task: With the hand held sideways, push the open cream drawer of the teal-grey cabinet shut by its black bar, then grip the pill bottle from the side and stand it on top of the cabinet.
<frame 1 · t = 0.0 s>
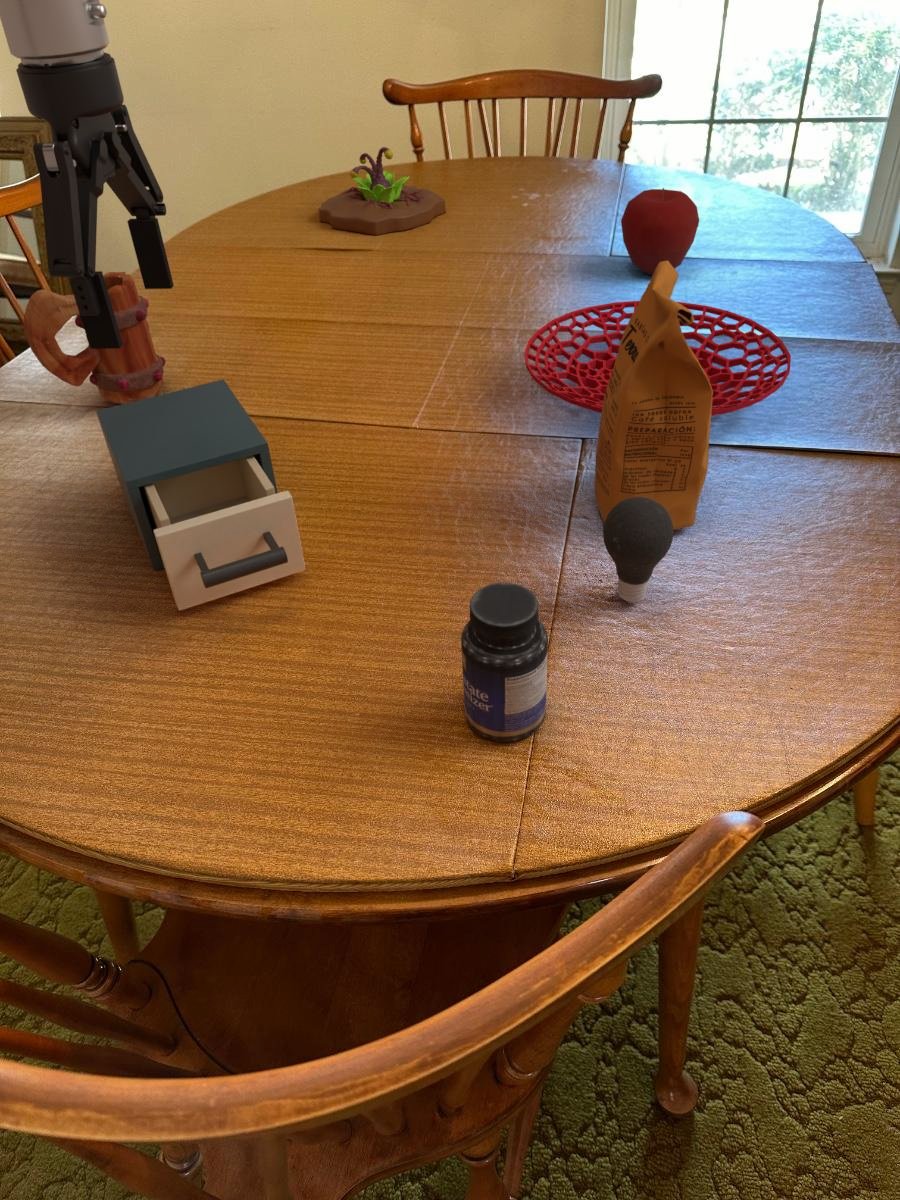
hand: (134, 315, 87), 18 cm above the table, tool pointing down, fingers open, 13 cm apart
apple: (655, 272, 137), on the table
pill bottle: (505, 716, 70), on the table
drawer: (220, 526, 83), point 5 cm above the table, slide at 7.0 cm
cabinet: (201, 512, 94), on the table
light bulb: (631, 601, 80), on the table
plant: (383, 216, 164), on the table
mug: (116, 404, 113), on the table
bowl: (650, 393, 109), on the table
coffee package: (644, 504, 91), on the table
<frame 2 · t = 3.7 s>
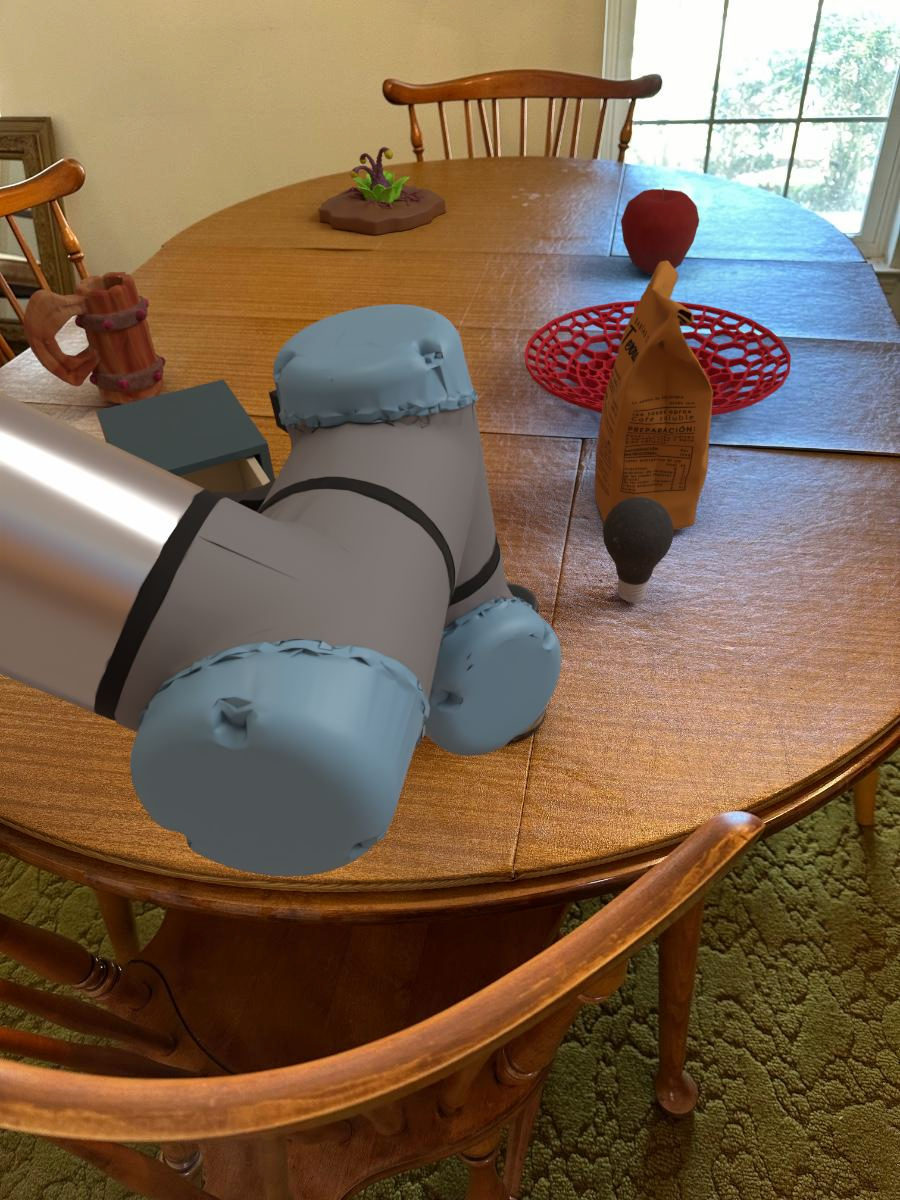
hand: (192, 438, 66), 19 cm above the table, tool horizontal, fingers open, 13 cm apart
nothing on the table moved.
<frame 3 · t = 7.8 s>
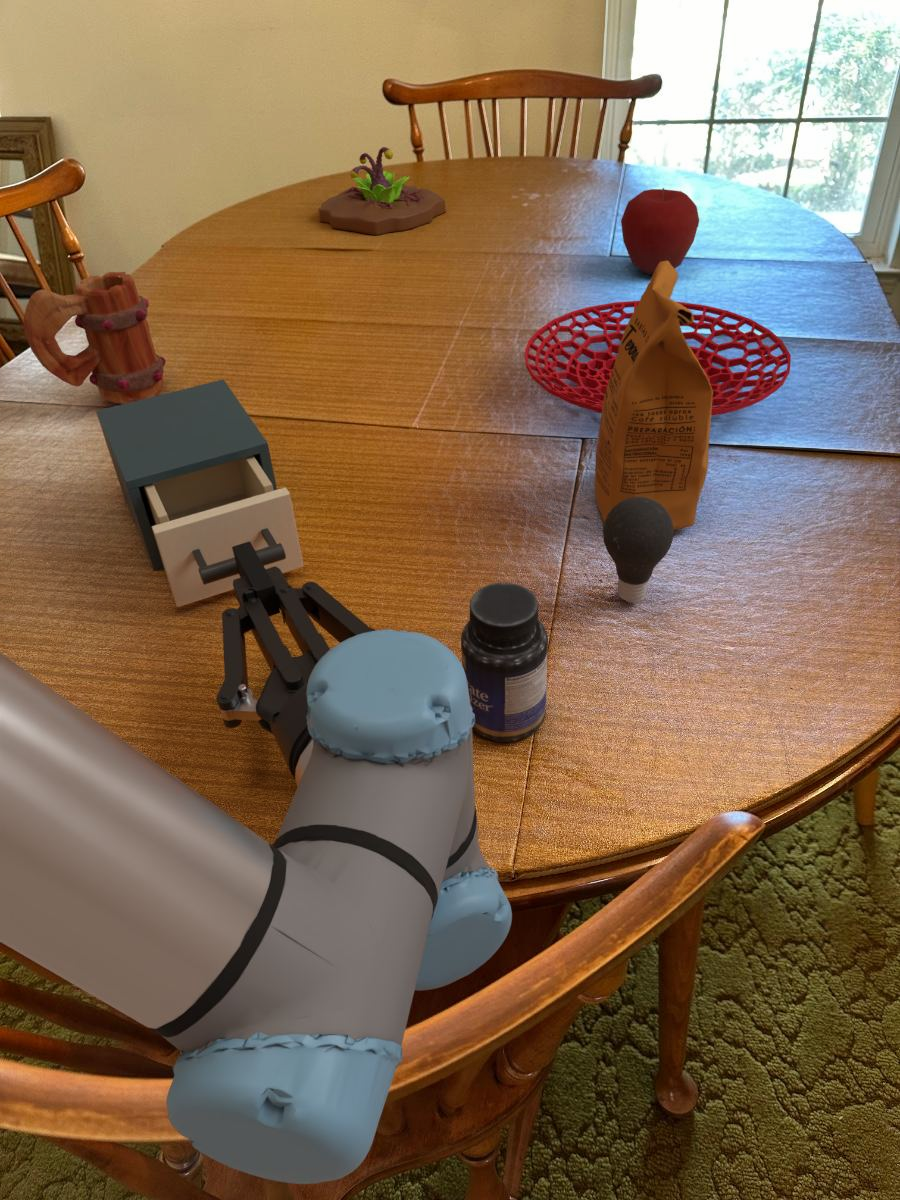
hand: (244, 557, 75), 7 cm above the table, tool horizontal, fingers closed
drawer: (218, 523, 83), point 5 cm above the table, slide at 6.4 cm, touching gripper
everything else where it was.
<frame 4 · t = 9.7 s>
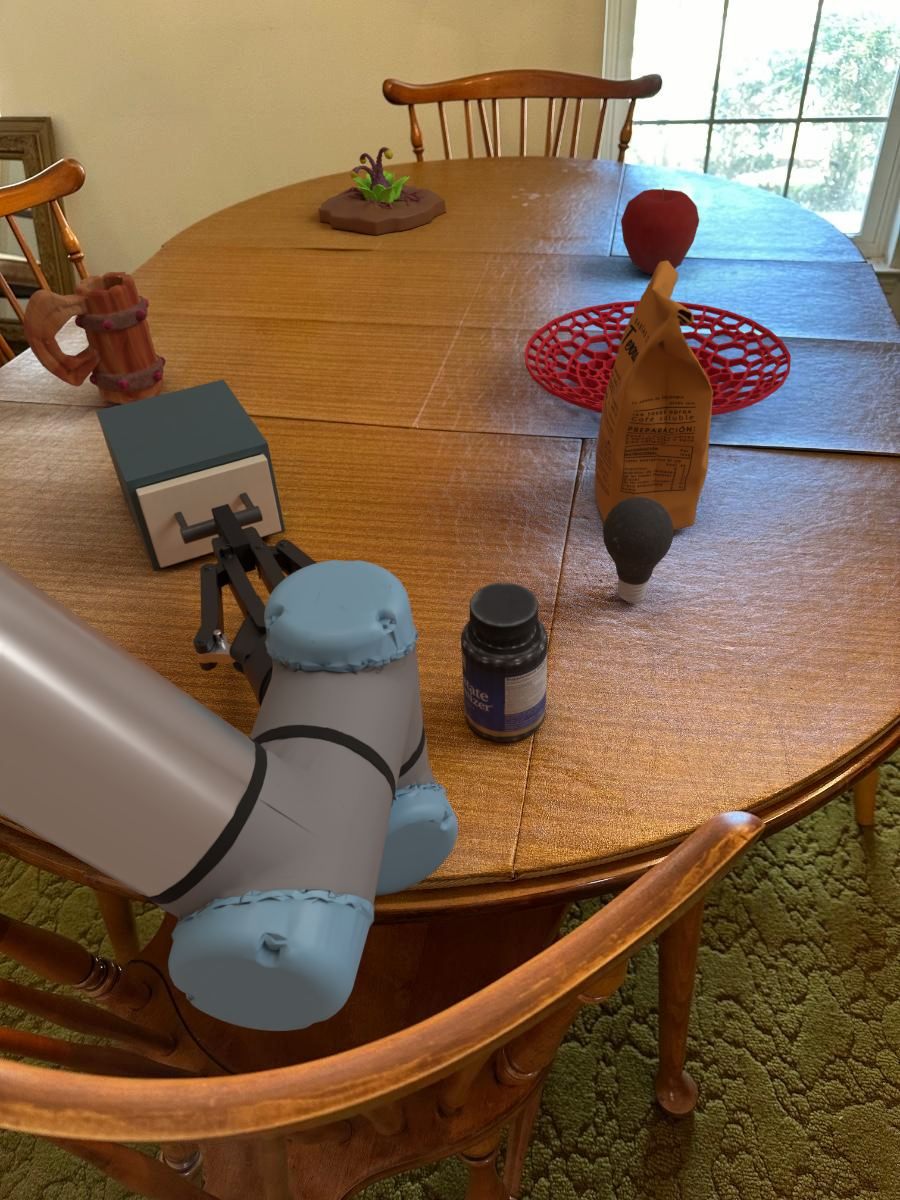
hand: (223, 519, 80), 7 cm above the table, tool horizontal, fingers closed
drawer: (200, 489, 88), point 5 cm above the table, slide at 0.0 cm, touching cabinet, gripper
everything else where it was.
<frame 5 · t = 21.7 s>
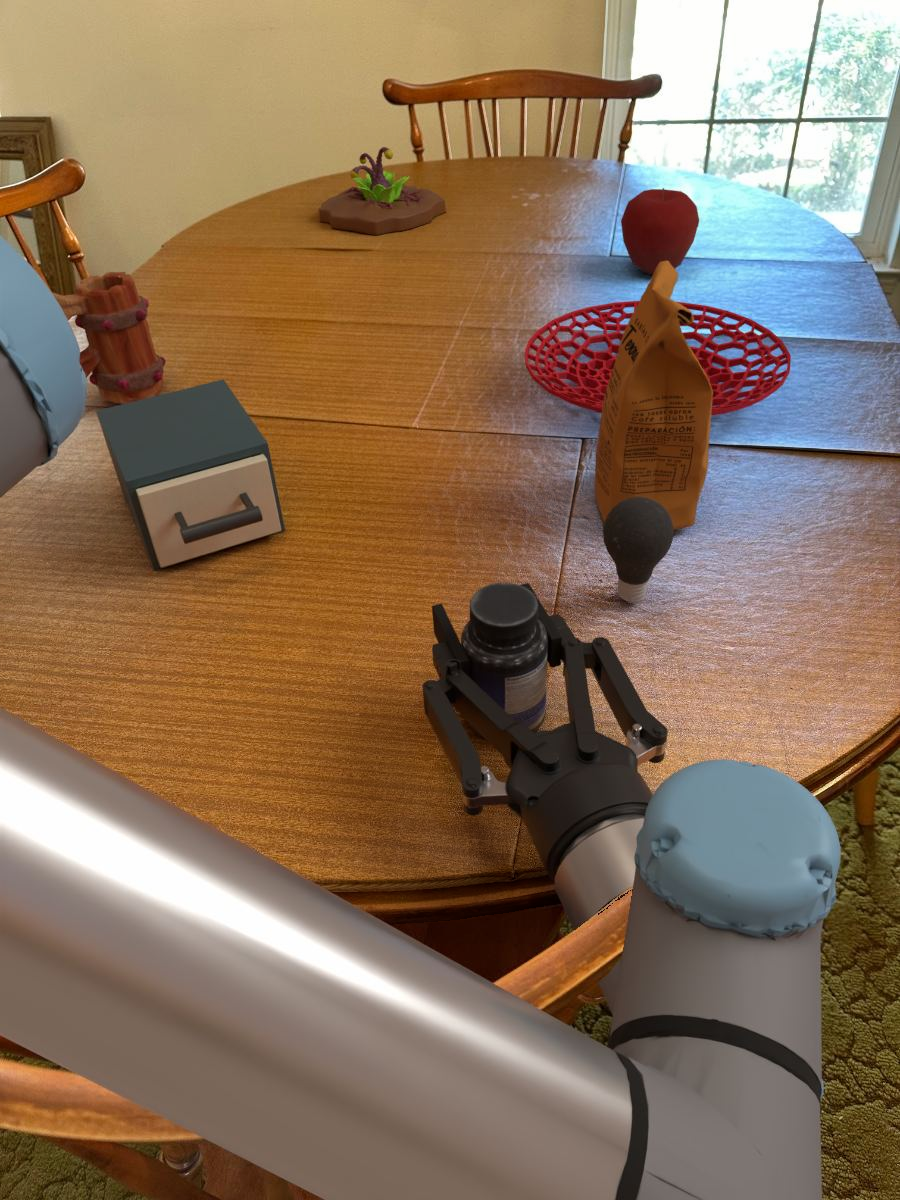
hand: (481, 608, 70), 6 cm above the table, tool horizontal, fingers closed on pill bottle, 6 cm apart
pill bottle: (505, 716, 70), on the table, touching gripper
drawer: (200, 489, 88), point 5 cm above the table, slide at 0.0 cm, touching cabinet
everything else where it was.
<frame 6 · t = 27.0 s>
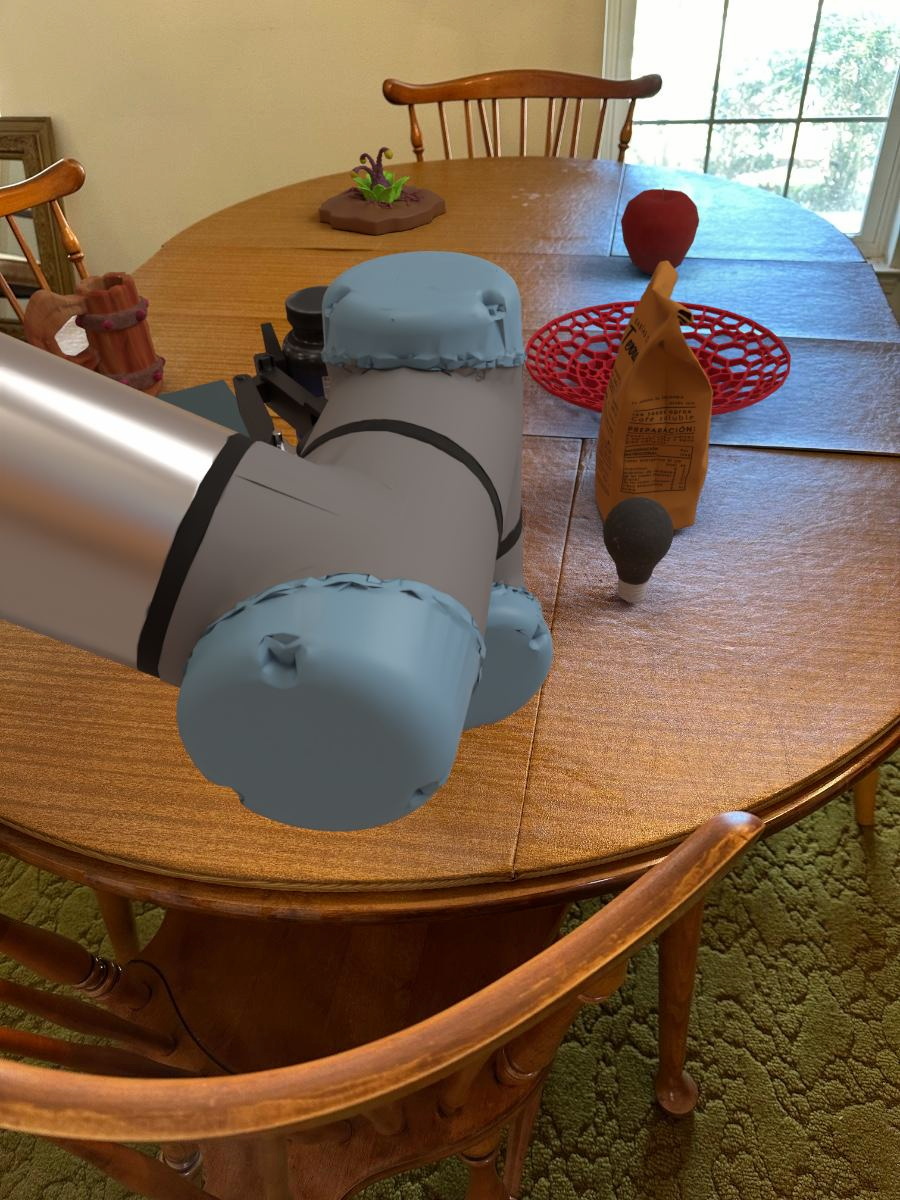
hand: (315, 333, 68), 24 cm above the table, tool horizontal, fingers closed on pill bottle, 6 cm apart
pill bottle: (340, 446, 69), point 17 cm above the table, touching gripper
everything else where it was.
when the fingers open (16 cm above the table, at t = 32.6 s): pill bottle stays where it is, resting on cabinet.
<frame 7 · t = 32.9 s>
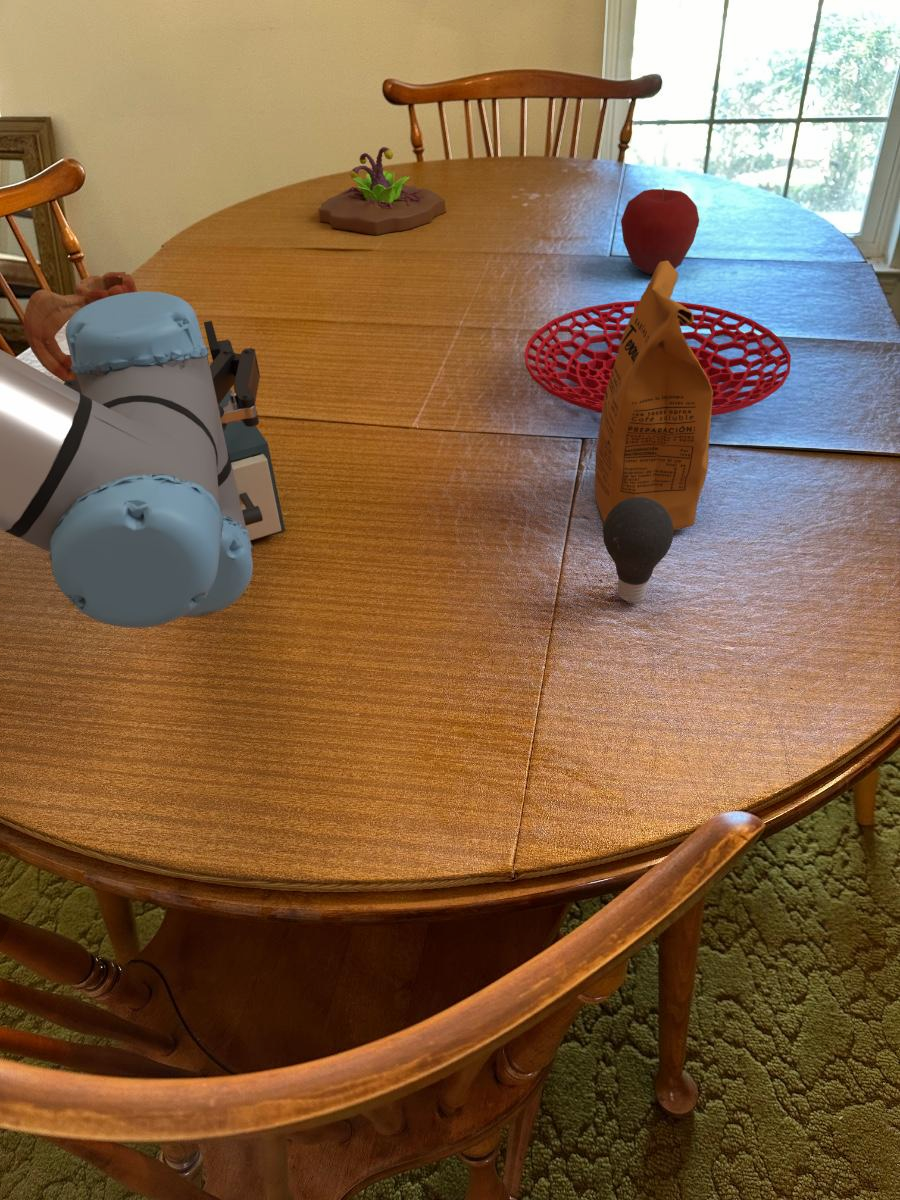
hand: (159, 344, 87), 16 cm above the table, tool horizontal, fingers open, 9 cm apart
pill bottle: (179, 427, 88), point 10 cm above the table, touching cabinet
everything else where it was.
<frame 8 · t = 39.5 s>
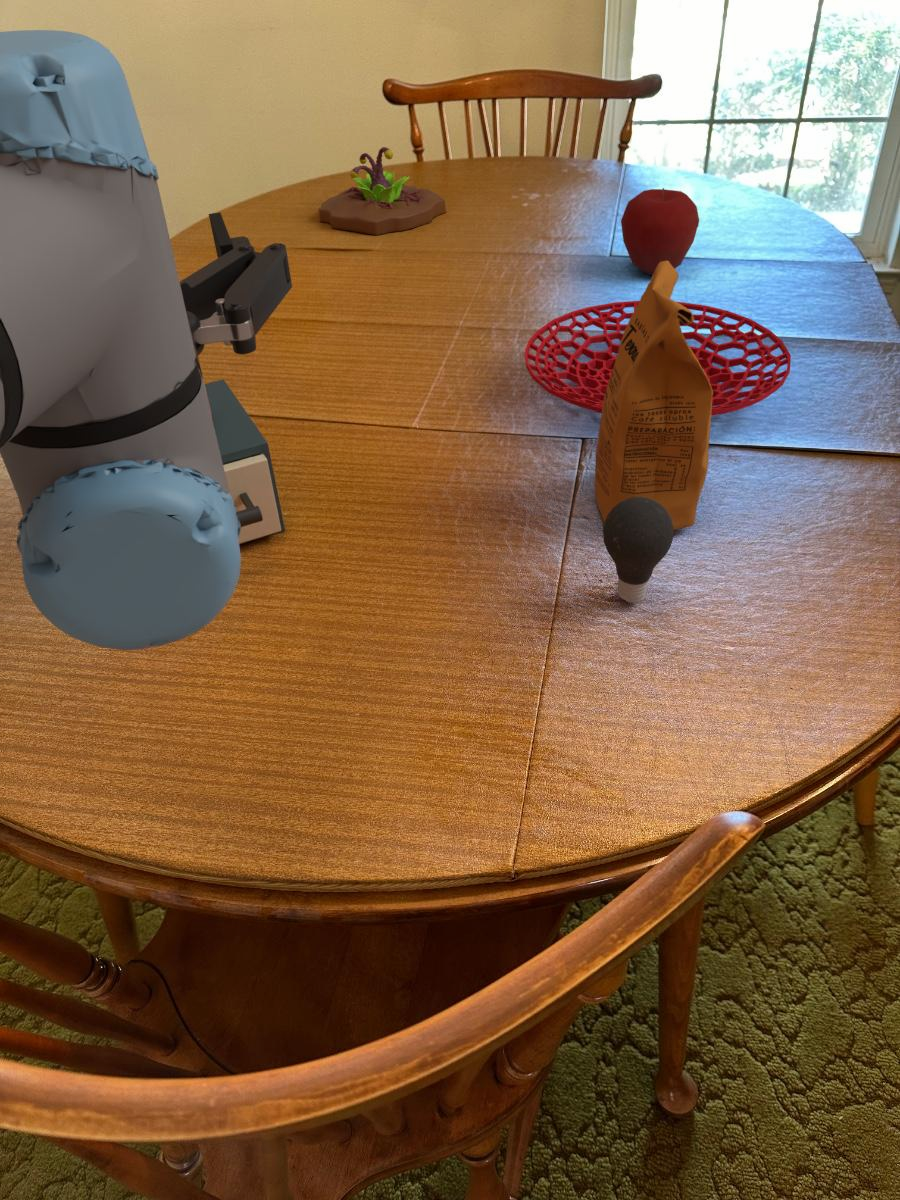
hand: (111, 249, 60), 32 cm above the table, tool horizontal, fingers open, 13 cm apart
nothing on the table moved.
at the end: drawer slide at 0.0 cm; pill bottle inside the target area on the cabinet (0.0 cm from its centre), point 9.6 cm above the cabinet's base; pill bottle tilted 0° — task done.
